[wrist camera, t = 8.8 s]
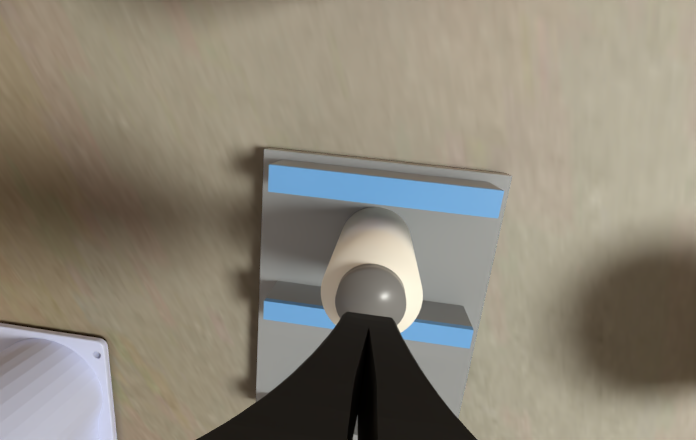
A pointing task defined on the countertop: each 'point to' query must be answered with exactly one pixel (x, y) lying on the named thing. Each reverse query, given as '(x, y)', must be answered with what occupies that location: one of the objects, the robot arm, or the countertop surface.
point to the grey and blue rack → (428, 243)
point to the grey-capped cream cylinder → (373, 270)
